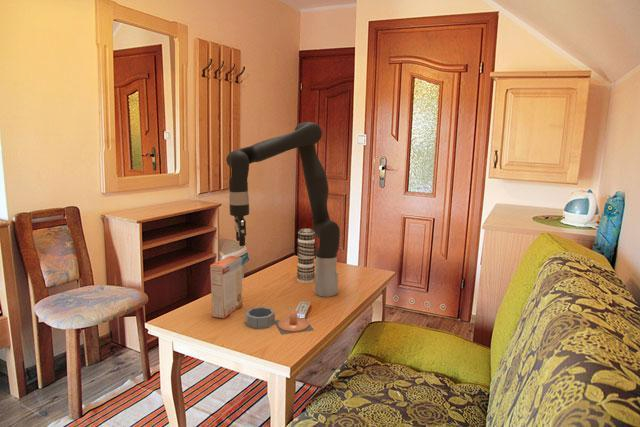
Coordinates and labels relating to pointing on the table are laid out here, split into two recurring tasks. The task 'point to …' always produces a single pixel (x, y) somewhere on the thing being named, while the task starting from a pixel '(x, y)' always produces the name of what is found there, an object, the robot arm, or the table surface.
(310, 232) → the decorative candle
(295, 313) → the lid
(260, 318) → the bowl
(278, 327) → the mat
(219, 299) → the cracker box
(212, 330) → the table surface
